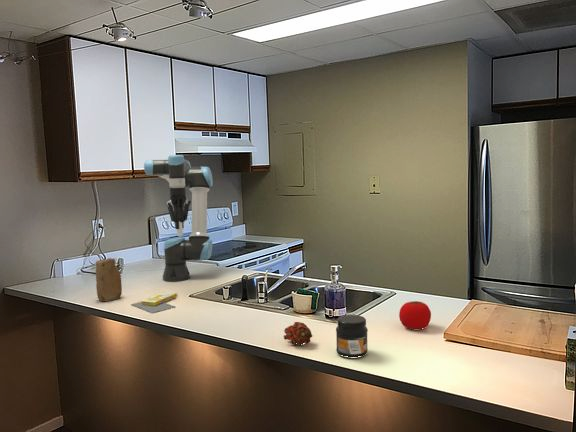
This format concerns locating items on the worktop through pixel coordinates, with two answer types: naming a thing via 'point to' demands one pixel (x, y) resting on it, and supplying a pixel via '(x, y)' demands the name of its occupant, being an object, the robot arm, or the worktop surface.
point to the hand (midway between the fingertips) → (180, 235)
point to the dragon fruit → (298, 333)
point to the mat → (153, 307)
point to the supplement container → (351, 336)
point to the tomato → (415, 315)
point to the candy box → (158, 299)
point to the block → (108, 280)
